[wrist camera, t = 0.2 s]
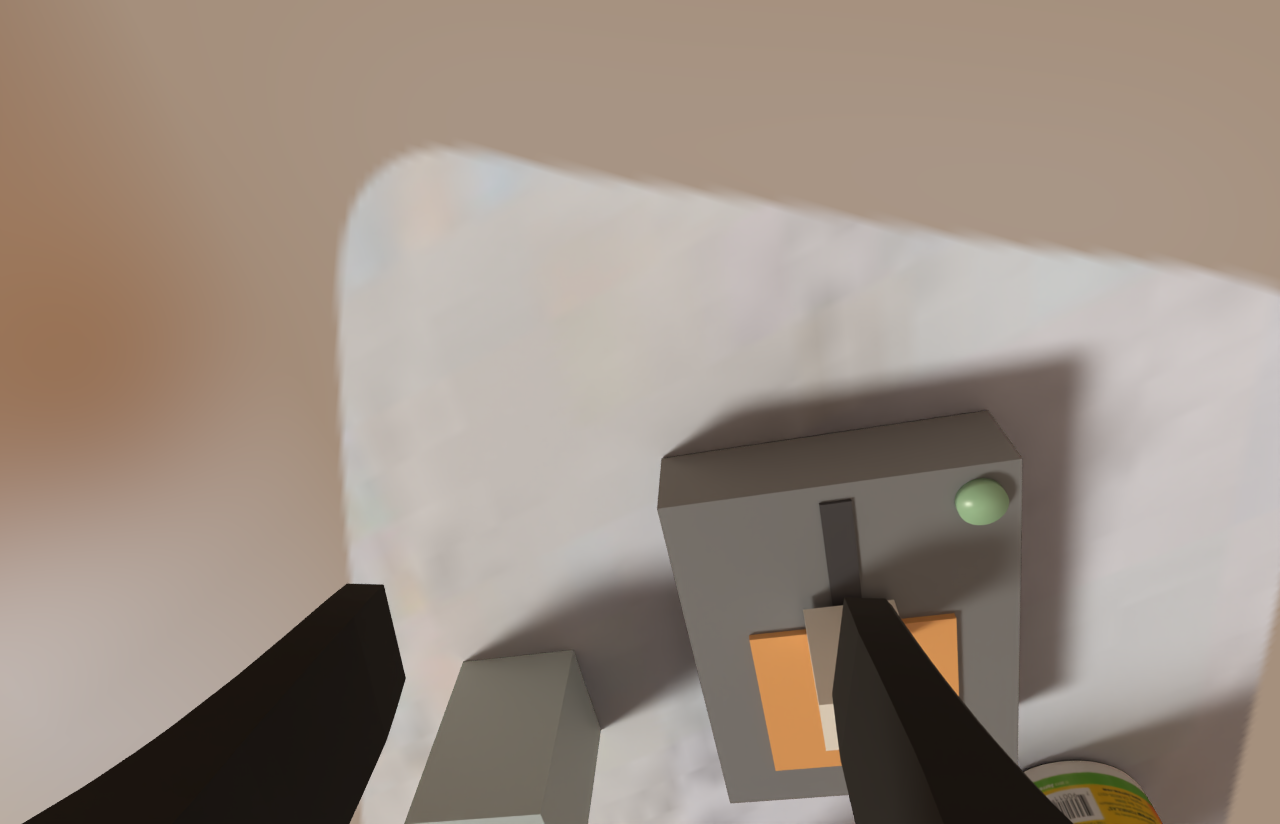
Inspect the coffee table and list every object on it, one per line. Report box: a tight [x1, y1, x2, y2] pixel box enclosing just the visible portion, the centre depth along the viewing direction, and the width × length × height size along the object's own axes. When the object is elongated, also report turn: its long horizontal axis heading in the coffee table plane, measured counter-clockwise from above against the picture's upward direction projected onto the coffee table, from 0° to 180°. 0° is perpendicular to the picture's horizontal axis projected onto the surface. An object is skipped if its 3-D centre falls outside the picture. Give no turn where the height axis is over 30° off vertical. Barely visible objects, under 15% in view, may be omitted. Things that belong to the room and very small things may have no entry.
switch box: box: [657, 410, 1022, 803], centre depth 23 cm, size 12×9×3 cm
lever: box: [803, 600, 899, 751], centre depth 19 cm, size 2×2×3 cm
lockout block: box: [404, 650, 601, 824], centre depth 24 cm, size 4×4×6 cm
